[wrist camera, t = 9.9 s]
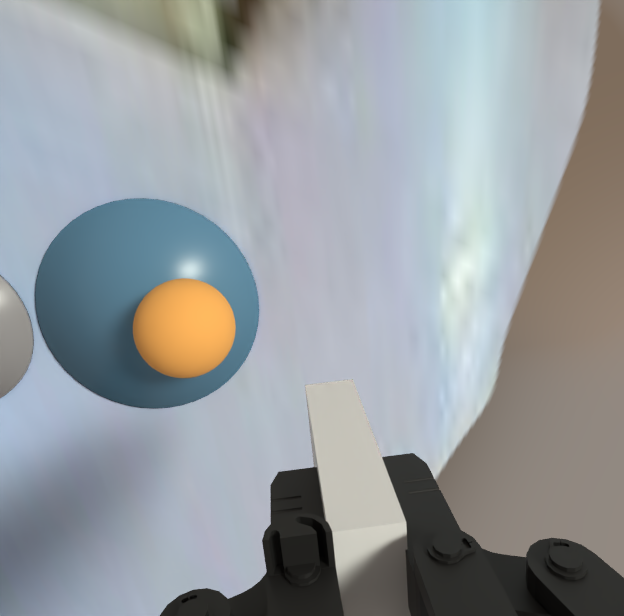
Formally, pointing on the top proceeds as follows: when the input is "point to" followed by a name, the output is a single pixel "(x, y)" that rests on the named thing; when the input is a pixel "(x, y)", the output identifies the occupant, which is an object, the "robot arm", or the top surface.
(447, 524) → the robot arm
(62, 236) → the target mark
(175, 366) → the ball
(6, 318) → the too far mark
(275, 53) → the top surface
